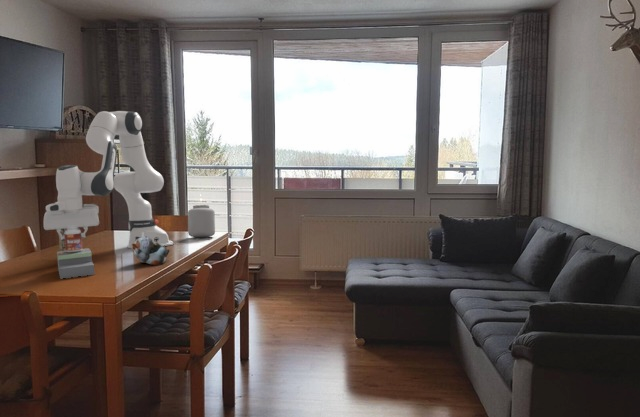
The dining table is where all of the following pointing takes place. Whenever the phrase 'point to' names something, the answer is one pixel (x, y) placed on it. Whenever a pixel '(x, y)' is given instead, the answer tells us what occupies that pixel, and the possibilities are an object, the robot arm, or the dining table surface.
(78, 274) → the stepped stand
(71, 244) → the pill bottle
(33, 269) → the dining table surface
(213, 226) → the jar
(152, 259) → the blue-grey lumpy figure
